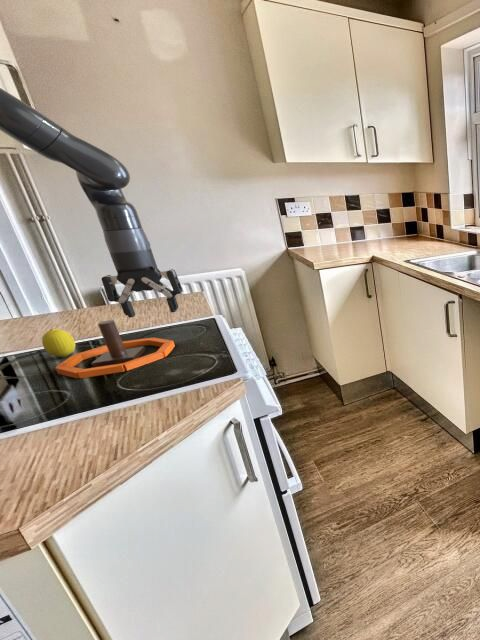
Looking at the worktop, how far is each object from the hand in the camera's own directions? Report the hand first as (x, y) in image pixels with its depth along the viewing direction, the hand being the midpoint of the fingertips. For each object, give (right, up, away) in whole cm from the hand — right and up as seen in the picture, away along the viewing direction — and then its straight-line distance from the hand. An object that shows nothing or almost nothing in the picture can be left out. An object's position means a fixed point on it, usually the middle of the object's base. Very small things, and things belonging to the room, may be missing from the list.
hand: (153, 314), depth 105 cm
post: (-9, -11, +1) cm, 14 cm away
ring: (-9, -11, +1) cm, 14 cm away
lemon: (-25, -11, +3) cm, 27 cm away
